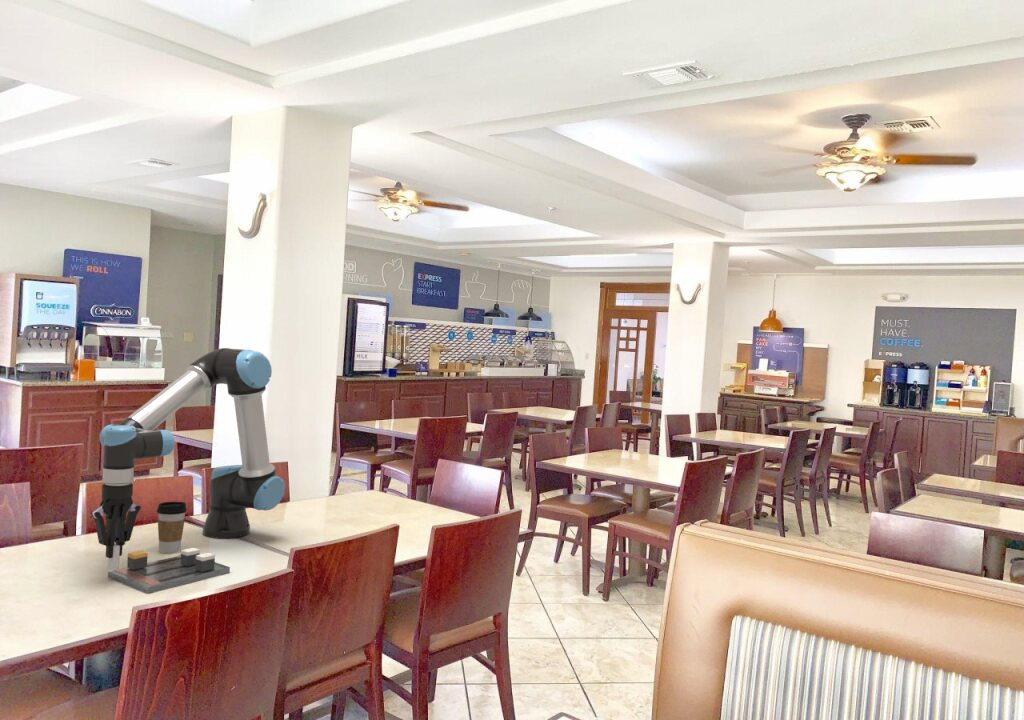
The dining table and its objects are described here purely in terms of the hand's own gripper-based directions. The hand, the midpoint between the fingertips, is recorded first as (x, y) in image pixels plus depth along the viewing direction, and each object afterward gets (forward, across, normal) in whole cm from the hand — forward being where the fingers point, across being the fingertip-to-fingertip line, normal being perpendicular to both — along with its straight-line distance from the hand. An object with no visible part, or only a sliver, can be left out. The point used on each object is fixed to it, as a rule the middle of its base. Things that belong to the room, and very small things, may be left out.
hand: (113, 568), depth 208 cm
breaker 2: (+1, -19, +14) cm, 23 cm away
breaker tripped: (+1, -7, 0) cm, 7 cm away
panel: (+3, -13, +7) cm, 15 cm away
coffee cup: (+3, -26, -14) cm, 29 cm away
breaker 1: (+1, -19, +7) cm, 20 cm away
